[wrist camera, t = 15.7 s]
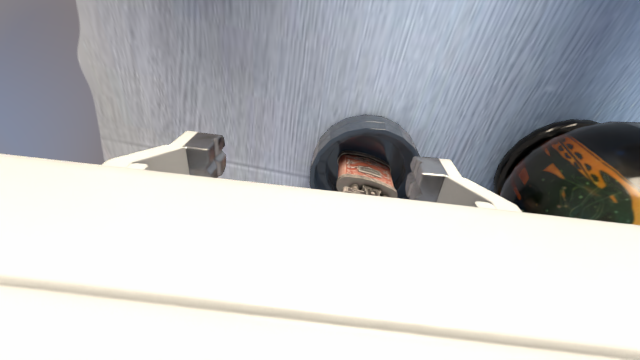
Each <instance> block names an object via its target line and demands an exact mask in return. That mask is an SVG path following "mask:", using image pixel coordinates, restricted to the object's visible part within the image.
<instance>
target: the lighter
mask: <svg viewBox="0 0 640 360" xmlns="http://www.w3.org/2000/svg"><path fill="white" fill-rule="evenodd" d="M337 162H338V179H337V183H336V187H337V190H338V191H339V192H346V193H355V194H364V195H373V196H382V197H391V198H397V191H396V189H395V188H394V185H393V181H392V177H391V174H390V173H391V168H390V165H389V164H388V163H387V162H385V161H383V160H381V159H379V158H377V157H375V156H372V155H369V154H366V153H361V152H356V151H348V150H345V151H342V152H341V153H340V154H339V155H338V160H337Z"/></svg>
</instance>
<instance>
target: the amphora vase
mask: <svg viewBox="0 0 640 360" xmlns="http://www.w3.org/2000/svg"><path fill="white" fill-rule="evenodd" d="M494 193H495V194H497V195H499V196H500V197H502V198H504V199H506V200H508V201H510V202H512V203H514V204H515V205H517V206H518V207H519V209H520V210H521V211H522V212H525V213H534V214H543V215H552V216H561V217H570V218H578V219H587V220H596V221H605V222H615V223H625V224H634V225H640V122H605V123H598V122H594V121H591V120H574V119H571V120H566V121H561V122H556V123H552V124H550V125H547V126H545V127H543V128H540V129H538V130H535V131H534V132H532V133H531V134H529V135H528V136H526V137H524V138H523V139H521V140H520V141H519V142H518V143H517V144H516V145H515V146H514V147H512V148H511V149H510V150H509V151H508V152H507V154H506V155H505V157H504V158H503V160H502V161H501V163H500V164H499V166H498V168H497V171H496V174H495V177H494Z"/></svg>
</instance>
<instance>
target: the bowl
mask: <svg viewBox="0 0 640 360" xmlns="http://www.w3.org/2000/svg"><path fill="white" fill-rule="evenodd" d="M345 150H348V151H356V152H361V153H366V154H369V155H372V156H375V157H377V158H379V159H381V160H383V161H385V162H387V163H388V164H389V165H390V168H391V173H390V174H391V177H392V181H393V185H394V188H395V189H396V191H397V198H400V199H409V197H408V196H407V195H406V191H405V185H406V179H407V175H408V174H409V173H411V172H412V170H411V167H410V164H411V161H412V159H413V157H415V156H418V157H420V156H419V154H418V151H417V149H416V147H415V145H414V143H413V141H412V139H411V137H410V135H409V134H408V133H407V132H406V131H405V130H404V129H403V128H402V127H401V126H400V125H399V124H397V123H396V122H393V121H391V120H389V119H387V118H384V117H382V116H373V115H360V116H355V117H349V118H346V119H344V120H342V121H340V122H338V123H336V124H335V125H333V126H331V127H330V128H329V129H328V130H327V131H326V132H325V133H324V135H323V136H322V137H321V138H320V139H319V142H318V144H317V146H316V148H315V150H314V153H313V158H312V163H311V169H310V186H311V189H320V190H329V191H337V192H339V191H338V190H337V187H336V183H337V179H338V162H337V160H338V155H339V154H340V153H341V152H342V151H345Z"/></svg>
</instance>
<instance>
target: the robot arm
mask: <svg viewBox="0 0 640 360" xmlns="http://www.w3.org/2000/svg"><path fill="white" fill-rule="evenodd" d="M224 146H225V142H224V137H223V136H222V135H216V134H208V133H200V132H194V131H186V132H184V133H183V134H182V135H181V136H180V137H178V138H177V139H176V140H175V141H174V142H172V143H171V144H170V145H163V146H159V147H155V148H151V149H147V150H143V151H139V152H136V153H132V154H128V155H124V156H120V157H116V158H112V159H109V160H107V161H106V162H104V163H103V164H102V165H96V164H88V163H79V162H70V161H61V160H52V159H42V158H34V157H25V156H15V155H7V154H1V153H0V360H640V225H634V224H625V223H615V222H605V221H596V220H587V219H578V218H570V217H561V216H552V215H543V214H534V213H525V212H522V211H521V210H520V209H519V207H518V206H517V205H515V204H514V203H512V202H510V201H508V200H506V199H504V198H502V197H500V196H499V195H497V194H495V193H493V192H491V191H489V190H487V189H486V188H484V187H482V186H480V185H478V184H476V183H474V182H472V181H471V180H469V179H467V178H462V176H461V175H460V173H459V172H458V170H457V169H456V167H455V166H454V164H453V163H452V161H451V160H449V159H438V158H430V157H418V156H415V157H413V159H412V161H411V164H410V167H411V170H412V172H411V173H409V174H408V175H407V179H406V185H405V191H406V195H407V196H408V197H409V199H400V198H391V197H382V196H373V195H364V194H355V193H346V192H337V191H329V190H320V189H311V188H302V187H293V186H284V185H275V184H266V183H257V182H248V181H239V180H230V179H221V178H218V176H221V175H222V174H223V172H224V170H225V166H226V155H225V153H224V152H223V151H222V149H223V147H224Z"/></svg>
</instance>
